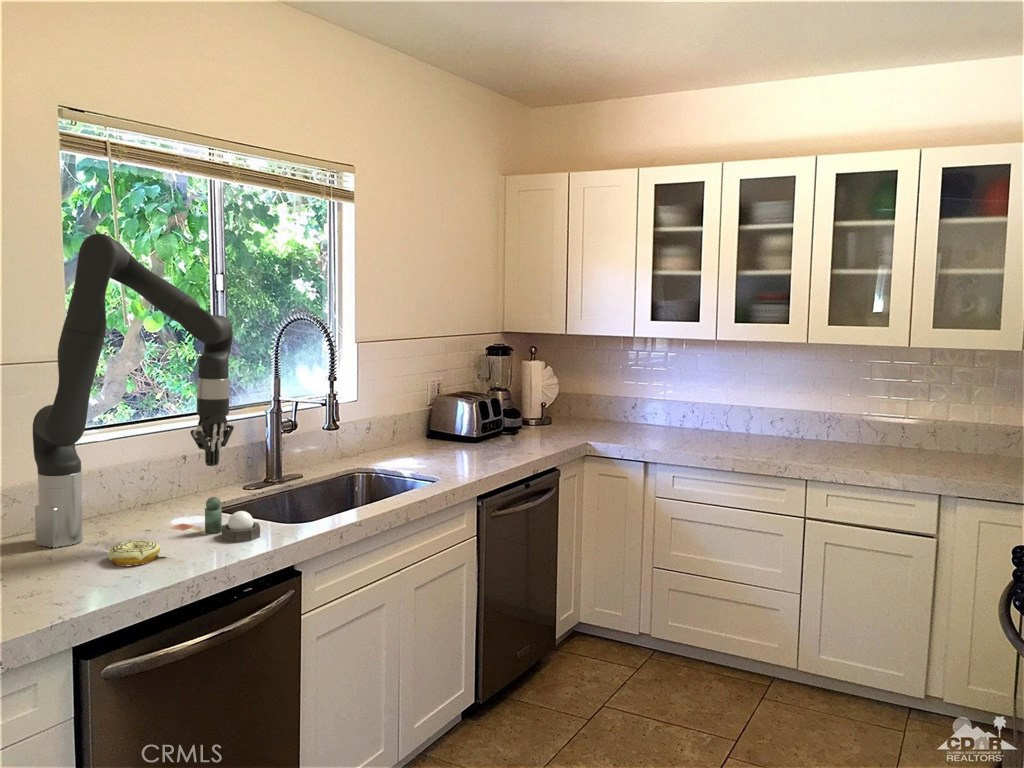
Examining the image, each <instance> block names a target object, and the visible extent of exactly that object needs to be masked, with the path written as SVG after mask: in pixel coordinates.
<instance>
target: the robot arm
mask: <svg viewBox="0 0 1024 768" xmlns="http://www.w3.org/2000/svg"><path fill="white" fill-rule="evenodd" d="M110 279H112V280H114V281H116V282H117V283H120V284H122V285H124V286H125V287H127V288H130V289H131V290H132V291H134V292H136V293H137V294H138V295H140V296H141V297H142V298H143V299H145V300H146V301H147V302H148V303H150V305H152V306H154V308H155V309H157V310H159V312H161V313H163V314H164V315H165V316H167V317H169V318H170V319H171V320H173V321H175V322H176V323H178V324H179V325H180V326H181V327H183V328H184V329H185V330H186V331H187V332H188V333H189V334H190V336H192V337H193V338H195V339H196V340H197V341H199V342H200V343H203V344H204V345H203V353H202V354H201V355H200V356H199V359H198V368H197V369H198V370H197V371H198V373H197V374H198V375H197V385H196V386H197V387H196V415H198V417H199V420H198V423H197V427H196V428H195V429H191V430H190V435H191V437H192V439H193V440H194V442H195V444H196V445H197V448H198V449H200V450H203V451H204V452H205V453H204V454H205V455H204V459H205V461H204V462H205V465H206V467H207V466H208V467H215V466H218V465H219V462H220V450H221V449H222V447H223V448H224V447H226V446H227V444H228V442H229V440H230V437H231V435H232V434H233V431H234V429H235V427H234V425H232V424H229V423H228V418H227V416H228V415H229V414H230V382H229V360H230V359H229V358H230V354H231V350H232V345H233V337H234V335H233V334H234V332H233V331H234V330H233V326H232V322H231V321H230V320H229V319H228V318H227V317H225V316H224V315H219V314H217V315H216V314H214V315H213V314H211V313H209V312H208V311H206V310H205V309H204V308H202V307H201V305H200V302H198V301H197V300H196V299H195V298H193V297H192V296H190V295H189V294H188V293H187V292H184V291H183V290H182V289H180V288H179V287H177V286H175V285H174V284H172V283H171V282H169V281H168V280H166V279H164V278H162V277H160V276H158V275H157V274H156V273H154V272H152V271H151V270H149V269H148V268H147V267H146V266H144V265H143V264H142V263H141V262H139V260H137V259H136V258H135V257H134V256H133V255H132V254H131V253H130V252H129V251H128V250H127V249H126V247H124V245H123V244H122V243H120V241H117V240H116V239H115V238H112V237H111V236H109V235H108V234H104V233H100V232H99V233H94V234H91V235H89V236H87V237H86V238H85V239H84V240H83V242H82V243H81V245H80V248H79V250H78V255H77V262H76V270H75V279H74V284H73V290H72V293H71V297H70V300H69V304H68V309H67V311H66V316H65V319H64V322H63V325H62V330H61V332H60V333H61V334H60V337H59V340H58V341H59V342H58V347H57V369H58V385H57V390H56V394H55V397H54V400H53V404H49V405H48V404H47V405H46V406H43V407H42V408H40V409H39V410H38V411H37V413H36V414H35V416H34V417H33V421H32V444H33V445H32V446H33V447H32V448H33V456H34V461H35V464H36V469H37V492H38V493H37V498H38V501H37V502H38V503H37V505H35V506H34V527H35V533H34V534H35V545H36V544H37V545H36V546H41V545H42V546H41V547H46V546H47V548H51V547H53V548H52V549H56V548H60V546H61V547H67V545H68V546H73V545H76V544H79V543H80V541H81V542H82V541H83V539H84V537H83V535H84V534H83V489H82V488H83V487H82V486H83V485H82V480H83V479H82V460H81V459H80V457H79V454H78V453H77V450H76V443H77V442H78V441H79V440H80V439H81V438H82V436H83V434H84V433H85V430H86V426H87V419H88V409H89V403H90V397H91V396H90V395H91V391H92V387H93V384H94V383H93V382H94V379H95V376H96V373H97V368H98V365H99V361H100V356H101V354H102V350H103V346H104V342H105V338H106V334H107V333H106V331H107V312H106V311H107V310H106V296H107V295H106V293H107V289H108V285H109V282H110ZM78 542H79V543H78ZM72 544H73V545H72ZM55 547H56V548H55Z"/></svg>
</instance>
